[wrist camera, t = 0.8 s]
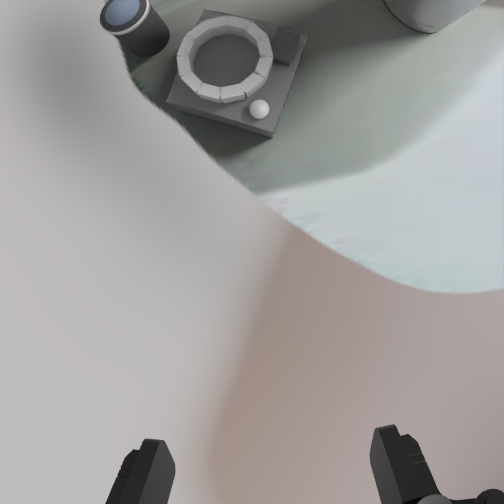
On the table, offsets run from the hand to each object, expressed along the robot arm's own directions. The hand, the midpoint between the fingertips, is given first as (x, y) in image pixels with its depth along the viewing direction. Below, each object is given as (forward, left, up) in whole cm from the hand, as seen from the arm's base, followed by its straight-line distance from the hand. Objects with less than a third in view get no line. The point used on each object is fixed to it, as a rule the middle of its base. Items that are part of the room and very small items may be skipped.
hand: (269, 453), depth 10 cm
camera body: (-18, -9, -25) cm, 32 cm away
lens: (-20, -20, -25) cm, 38 cm away
